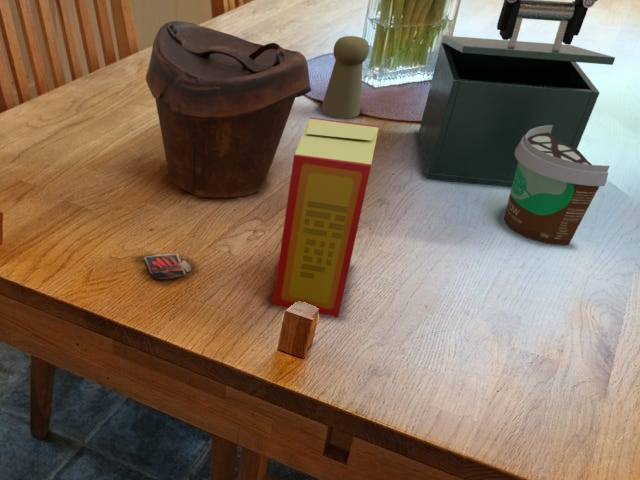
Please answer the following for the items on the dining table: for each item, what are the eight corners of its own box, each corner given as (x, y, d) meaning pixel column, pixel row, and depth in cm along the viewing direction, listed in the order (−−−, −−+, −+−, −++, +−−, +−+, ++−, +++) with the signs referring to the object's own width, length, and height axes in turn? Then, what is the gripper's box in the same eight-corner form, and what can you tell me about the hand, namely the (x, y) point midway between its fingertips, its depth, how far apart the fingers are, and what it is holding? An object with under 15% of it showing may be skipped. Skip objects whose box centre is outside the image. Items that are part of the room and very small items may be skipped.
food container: (475, 203, 90) (500, 124, 84) (521, 201, 90) (550, 123, 84) (524, 253, 80) (557, 169, 74) (575, 251, 81) (612, 167, 75)
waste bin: (559, 192, 93) (600, 92, 84) (426, 178, 95) (453, 80, 87) (535, 142, 105) (568, 51, 97) (418, 131, 108) (441, 42, 100)
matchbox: (158, 283, 74) (158, 279, 74) (136, 260, 78) (136, 256, 77) (197, 273, 76) (197, 269, 76) (174, 250, 79) (174, 247, 79)
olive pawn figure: (330, 101, 117) (343, 29, 110) (365, 110, 114) (380, 37, 107) (314, 112, 113) (326, 38, 106) (350, 121, 110) (364, 46, 104)
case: (315, 205, 89) (341, 53, 77) (155, 215, 86) (158, 59, 74) (274, 147, 102) (291, 11, 91) (135, 154, 99) (134, 14, 88)
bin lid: (613, 64, 82) (632, 6, 79) (461, 53, 84) (475, -4, 82) (568, 51, 97) (583, 2, 94) (441, 41, 99) (452, -7, 97)
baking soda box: (338, 316, 70) (371, 162, 60) (272, 304, 72) (294, 151, 62) (348, 268, 77) (379, 122, 67) (288, 257, 79) (310, 113, 69)
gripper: (513, -146, 72) (462, 42, 84) (700, -139, 70) (621, 54, 81) (501, -152, 78) (454, 25, 89) (673, -146, 75) (602, 36, 87)
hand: (534, 37), depth 85 cm, fingers closed on bin lid, 6 cm apart
